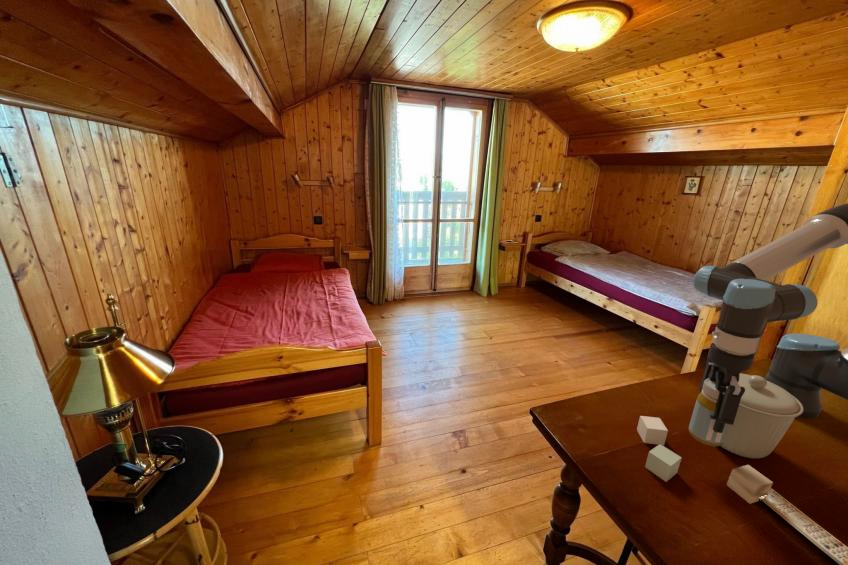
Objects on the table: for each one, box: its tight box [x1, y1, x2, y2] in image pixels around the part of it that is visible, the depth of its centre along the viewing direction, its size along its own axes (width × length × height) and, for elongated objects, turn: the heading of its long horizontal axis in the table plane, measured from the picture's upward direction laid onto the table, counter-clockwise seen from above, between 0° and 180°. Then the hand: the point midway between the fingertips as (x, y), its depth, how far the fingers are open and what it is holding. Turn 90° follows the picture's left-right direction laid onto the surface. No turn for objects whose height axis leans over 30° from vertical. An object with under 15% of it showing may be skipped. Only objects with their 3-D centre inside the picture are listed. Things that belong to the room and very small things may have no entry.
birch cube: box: [726, 464, 774, 504], centre depth 81 cm, size 5×5×5 cm
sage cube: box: [644, 444, 682, 483], centre depth 86 cm, size 5×5×5 cm
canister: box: [719, 372, 803, 460], centre depth 92 cm, size 18×18×21 cm
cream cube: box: [636, 415, 669, 446], centre depth 97 cm, size 5×5×5 cm
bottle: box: [688, 378, 730, 447], centre depth 84 cm, size 7×7×15 cm
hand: (707, 430), depth 86 cm, fingers closed on bottle, 6 cm apart
